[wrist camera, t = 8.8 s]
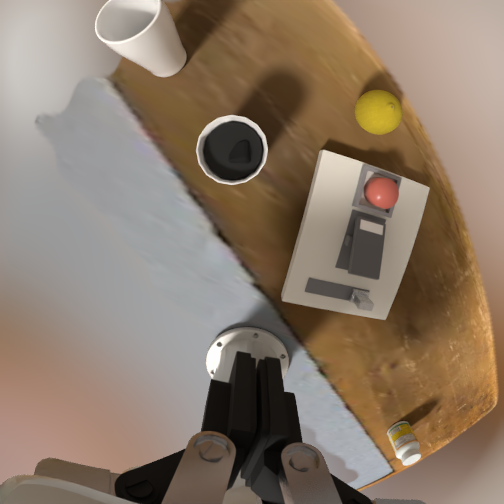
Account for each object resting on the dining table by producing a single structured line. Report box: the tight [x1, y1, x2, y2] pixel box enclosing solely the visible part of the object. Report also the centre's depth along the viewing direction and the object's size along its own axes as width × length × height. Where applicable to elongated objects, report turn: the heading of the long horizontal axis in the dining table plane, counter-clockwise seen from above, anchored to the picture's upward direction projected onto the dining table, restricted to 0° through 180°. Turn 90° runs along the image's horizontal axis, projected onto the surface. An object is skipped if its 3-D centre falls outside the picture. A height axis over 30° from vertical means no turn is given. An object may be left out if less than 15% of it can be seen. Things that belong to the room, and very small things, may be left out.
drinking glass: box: [95, 0, 187, 77], centre depth 25 cm, size 7×7×15 cm
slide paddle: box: [349, 289, 374, 311], centre depth 37 cm, size 2×2×3 cm
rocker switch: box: [348, 216, 386, 280], centre depth 35 cm, size 7×4×1 cm, turn 167°
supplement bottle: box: [387, 421, 421, 466], centre depth 46 cm, size 5×5×10 cm
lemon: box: [355, 90, 402, 134], centre depth 31 cm, size 6×6×8 cm
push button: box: [363, 177, 399, 209], centre depth 34 cm, size 4×4×3 cm
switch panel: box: [281, 150, 430, 320], centre depth 38 cm, size 20×16×4 cm
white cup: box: [196, 115, 268, 185], centre depth 32 cm, size 7×7×10 cm
